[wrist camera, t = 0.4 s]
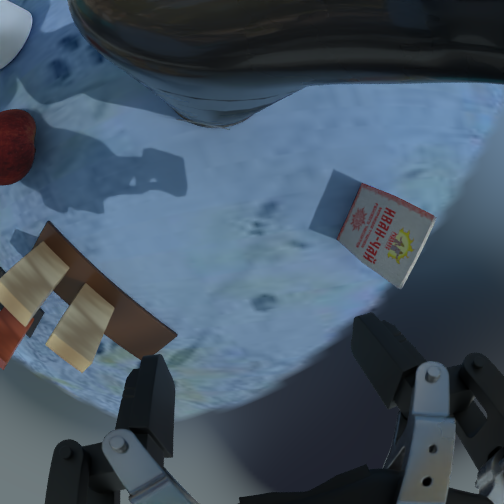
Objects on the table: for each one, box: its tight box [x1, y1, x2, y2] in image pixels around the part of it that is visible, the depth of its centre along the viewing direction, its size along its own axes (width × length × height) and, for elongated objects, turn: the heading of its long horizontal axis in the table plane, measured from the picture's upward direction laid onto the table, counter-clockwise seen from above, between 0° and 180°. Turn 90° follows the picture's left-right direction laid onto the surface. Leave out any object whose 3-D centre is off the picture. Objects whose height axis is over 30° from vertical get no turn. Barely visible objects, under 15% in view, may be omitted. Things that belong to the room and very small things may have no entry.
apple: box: [0, 109, 36, 185], centre depth 15 cm, size 7×8×8 cm
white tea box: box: [337, 183, 437, 289], centre depth 24 cm, size 4×7×10 cm, turn 159°
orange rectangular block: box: [0, 307, 34, 370], centre depth 22 cm, size 4×2×9 cm, turn 40°
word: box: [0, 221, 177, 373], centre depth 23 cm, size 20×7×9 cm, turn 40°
